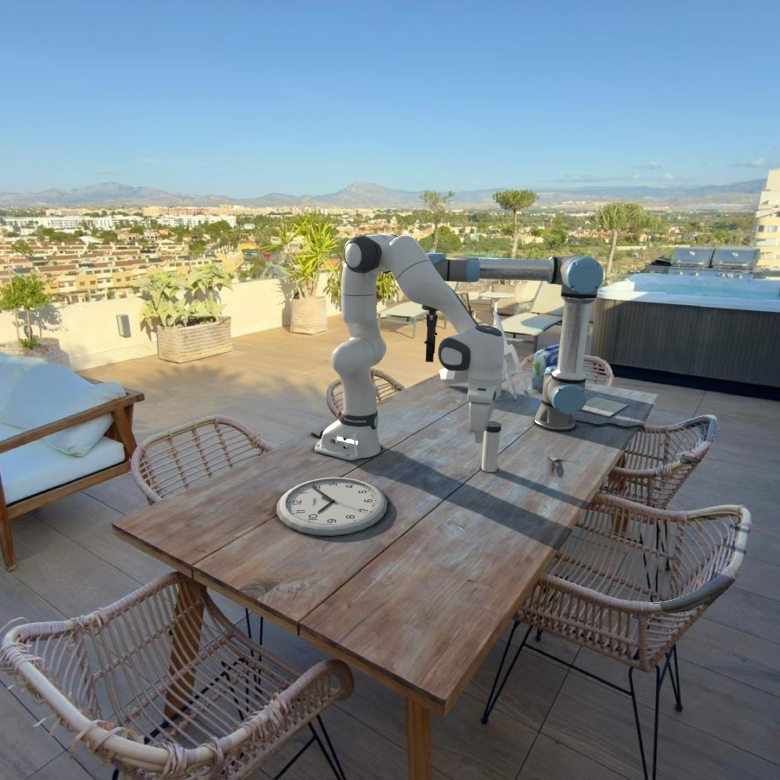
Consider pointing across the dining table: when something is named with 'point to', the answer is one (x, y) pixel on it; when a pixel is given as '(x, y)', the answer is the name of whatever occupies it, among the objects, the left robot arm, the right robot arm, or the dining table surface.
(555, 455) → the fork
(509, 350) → the white plastic object
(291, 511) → the wall clock
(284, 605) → the dining table surface
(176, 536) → the dining table surface
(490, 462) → the jar
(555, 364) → the lunch box
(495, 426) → the lid
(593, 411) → the invitation card
